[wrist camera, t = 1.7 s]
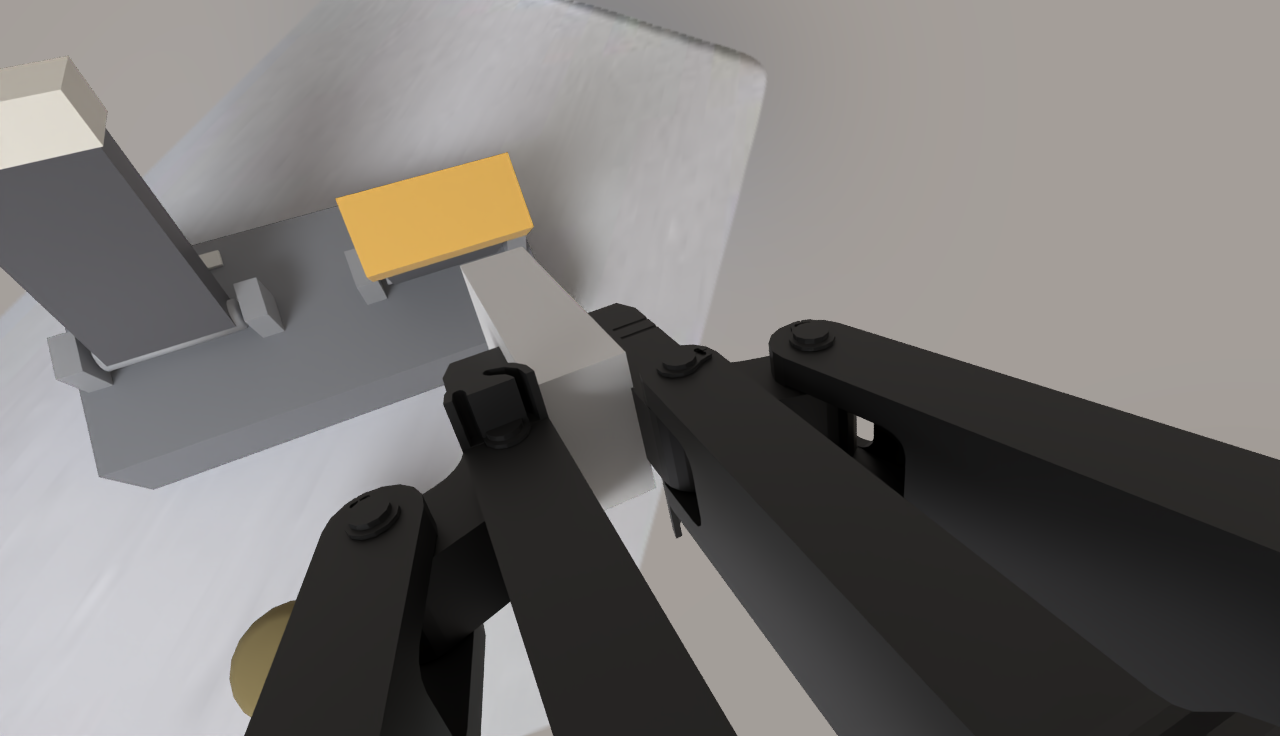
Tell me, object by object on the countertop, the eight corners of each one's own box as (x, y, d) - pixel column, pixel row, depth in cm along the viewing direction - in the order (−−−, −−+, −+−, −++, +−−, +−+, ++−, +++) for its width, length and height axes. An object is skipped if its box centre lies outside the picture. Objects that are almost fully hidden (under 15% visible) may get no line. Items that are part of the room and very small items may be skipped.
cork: (304, 712, 35) (207, 767, 25) (294, 601, 37) (200, 610, 27) (415, 681, 37) (367, 721, 26) (401, 575, 38) (351, 574, 28)
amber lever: (502, 262, 41) (533, 226, 27) (394, 296, 39) (366, 277, 25) (485, 214, 40) (507, 152, 26) (374, 246, 38) (335, 198, 24)
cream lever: (250, 342, 35) (60, 89, 24) (111, 386, 33) (-166, 135, 22) (246, 306, 37) (68, 55, 26) (114, 346, 35) (-140, 95, 24)
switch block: (153, 489, 38) (65, 469, 31) (110, 316, 40) (21, 262, 33) (557, 344, 45) (561, 300, 37) (497, 204, 47) (490, 139, 40)
